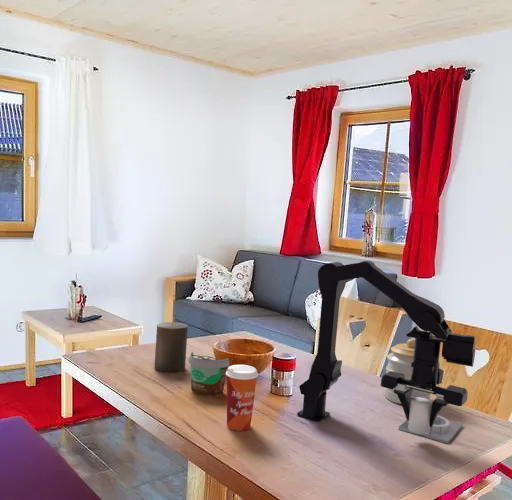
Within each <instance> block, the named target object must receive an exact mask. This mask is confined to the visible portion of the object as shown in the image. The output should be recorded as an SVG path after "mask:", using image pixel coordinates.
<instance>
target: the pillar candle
mask: <svg viewBox="0 0 512 500" xmlns="http://www.w3.org/2000/svg"><path fill="white" fill-rule="evenodd" d="M188 327H189V326H188V324H186V323H180V322H174V321H173V320H171V321H170V322H160V323H157V324H156V336H155V349H154V350H155V352H154V355H155V356H154V368H155V369H156V370H157V371H162V372H165V373H167V372H168V373H172V372H173V373H174V372H175V373H176V372H182V371H184V370H185V369H186V361H187V344H188V343H187V341H188Z"/></svg>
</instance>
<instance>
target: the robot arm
mask: <svg viewBox="0 0 512 500" xmlns="http://www.w3.org/2000/svg"><path fill="white" fill-rule="evenodd" d="M359 278H362V279H364V280H365V281H366V282H367V283H369V284H371V285H372V286H373V287H375V288H376V289H377V290H379V291H380V292H381V293H382V294H384V295H385V296H387V298H389V299H390V300H392V301H393V302H394V303H396V304H397V305H398V306H400V307H401V308H402V309H403V310H404V312H405V313H406V314H407V317H409V319H411V320H410V321H413V323H414V324H415V325H414V327H413V328H412V329H411V330H410V331H408V332H407V333H406V337H407V338H411V339H414V340H415V344H414V355H413V362H412V363H411V367H412V376H411V379H410V380H408V379H405V376H404V374H402V373H397V372H393V371H390V372H388V373H385V374H383V375H382V376H381V379H380V387H382V388H384V387H385V388H389V389H394V388H395V390H394V391H393V393H395V394H397V396H398V398H399V400H400V402H401V404H400V405H401V406H402V409H403V412H404V415H405V418H406V420H407V421H409V413H410V402H411V395H412V391H413V389H415V390H419V391H423V392H427V393H430V394H432V395H435V397H436V398H435V399H433V400H432V402H433V403H432V410H431V416H430V427H432V426H433V424H434V422H435V420H436V418H437V416H439V415H440V411H441V410H442V408H443V407H446V406H448V405H453V406H455V407H456V406H457V407H463V406H464V404H466V402H467V401H468V390H467V389H466V388H465V387H460V386H456V385H452V384H449V385H448V386H447V387H446V388H445V387H441V386H439V385H440V384H441V385H442V382H443V377H444V372H445V371H444V370H443V369H441V368H440V353H441V357H442V358H443V359H444V360H446V361H445V363H450V364H454V365H461V366H467V367H474V364H475V356H476V336H475V335H470V334H467V335H465V334H460V333H459V334H458V333H453V331H452V329H451V328H450V326H449V324H448V322H447V321H446V319H445V311H444V309H443V307H441V306H440V305H439V304H437V303H435V302H433V301H431V300H429V299H427V298H424V297H422V296H420V295H418V294H415V293H413V292H412V291H410V290H409V289H407V287H405V286H404V285H402V284H401V283H400V282H399V281H397V280H395V279H394V278H393V277H392V276H390V275H389V274H388V273H386V272H385V271H383V269H381V268H380V267H378V266H377V265H376V264H375V263H374V262H373V261H371V260H363V261H360V262H355V263H348V264H343V263H342V262H340V261H333V262H328V263H324V264H322V265H321V266H320V267H319V268H318V270H317V281H318V283H317V284H318V289H319V291H320V293H319V294H320V295H321V303H320V304H321V305H320V316H319V326H318V327H319V330H318V338H317V339H318V342H317V343H318V344H317V352H316V355H315V357H314V359H313V361H312V364H311V368H310V371H309V374H308V379H307V380H305V381H304V382H302V383H301V384H300V385H299V386H298V387H299V391H300V394H301V395H303V402H302V403H303V404H302V409H301V410H300V411H298V412H297V413H296V416H299V417H303V418H306V419H309V420H312V421H315V422H321V421H322V420H323V421H324V419H326V418H327V417H329V416H330V415H331V412H329V411H326V403H327V391H329V390H330V389H331V387H332V386H334V384H336V383H337V382H338V380H339V378H341V377H342V372H341V371H342V370H341V369H342V364H343V360H341V359H340V360H339V359H337V356H336V348H337V346H336V345H337V334H338V323H339V314H340V303H341V302H340V300H341V297H342V295H343V292H344V290H345V289H346V283H347V281H348V280H353V279H359ZM441 343H442V345H441ZM441 347H442V348H441Z"/></svg>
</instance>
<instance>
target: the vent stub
mask: <svg viewBox="0 0 512 500" xmlns="http://www.w3.org/2000/svg"><path fill="white" fill-rule="evenodd" d="M432 403H433V400H432V399H431V400H429V399H426V398H421V397H413V398H411V402H410V413H409V423H408V429H409V430H410V431H411V432H414V433H417V434H429V433H430V429H431V427H430V416H431V410H432Z"/></svg>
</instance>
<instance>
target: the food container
mask: <svg viewBox="0 0 512 500" xmlns="http://www.w3.org/2000/svg"><path fill="white" fill-rule="evenodd" d="M187 363H189V364H190V388H191V391H192V393H194V392H195V393H194V394H197V395H201V396H216V395H217V394H218V395H220V394H223V393H224V388H225V384H226V383H225V382H226V379H227V375H226V372H227V370H228V367H230V366H231V365H230V360H229V357H227V358H225V359H224V358H223V359H218V358H216V357H213V356H205V355H204V356H203V355H202V356H201V355H197V354H196V355H195V354H194V351H191V352H190V353H189V356H188V360H187Z"/></svg>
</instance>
